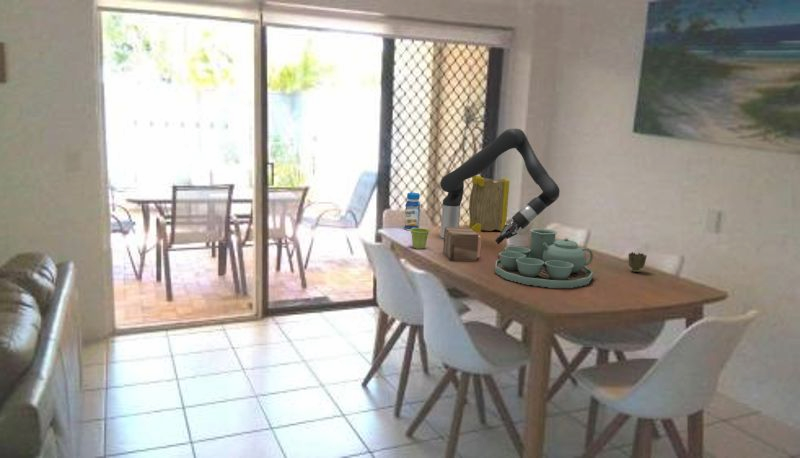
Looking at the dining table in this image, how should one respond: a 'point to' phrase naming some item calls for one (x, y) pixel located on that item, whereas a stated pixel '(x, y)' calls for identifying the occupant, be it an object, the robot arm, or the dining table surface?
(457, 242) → the brown box with drawer
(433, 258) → the dining table surface
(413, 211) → the beverage bottle
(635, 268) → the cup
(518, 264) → the tea set
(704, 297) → the dining table surface
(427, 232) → the plant pot
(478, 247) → the salmon pink block
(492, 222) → the decorative book
